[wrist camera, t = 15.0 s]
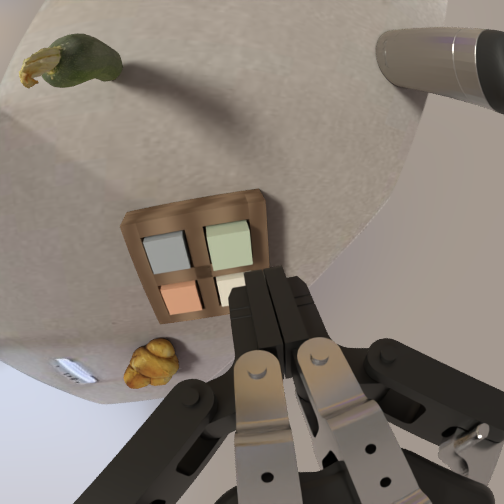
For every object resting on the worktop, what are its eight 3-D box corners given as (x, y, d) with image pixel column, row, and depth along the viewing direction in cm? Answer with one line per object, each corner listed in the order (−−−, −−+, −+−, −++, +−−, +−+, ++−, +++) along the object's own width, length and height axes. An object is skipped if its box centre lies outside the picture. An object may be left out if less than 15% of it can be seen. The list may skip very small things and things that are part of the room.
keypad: (258, 188, 36) (265, 200, 32) (265, 289, 46) (271, 306, 43) (126, 212, 34) (120, 226, 31) (161, 306, 44) (160, 324, 41)
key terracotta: (194, 271, 39) (195, 285, 37) (201, 296, 42) (202, 310, 40) (162, 277, 39) (160, 290, 36) (170, 301, 42) (170, 314, 39)
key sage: (245, 218, 34) (249, 230, 32) (248, 250, 37) (252, 264, 35) (205, 224, 34) (206, 237, 31) (212, 257, 37) (213, 271, 34)
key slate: (182, 223, 35) (181, 235, 32) (190, 255, 38) (190, 268, 35) (146, 230, 34) (143, 242, 32) (156, 260, 37) (154, 274, 35)
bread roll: (151, 326, 47) (148, 362, 40) (193, 346, 52) (195, 380, 45) (122, 355, 51) (119, 387, 44) (160, 371, 56) (160, 401, 49)
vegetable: (108, 48, 21) (9, 24, 5) (141, 52, 23) (66, 16, 7) (98, 82, 24) (-9, 96, 7) (130, 86, 25) (43, 95, 9)
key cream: (249, 262, 40) (252, 275, 38) (251, 287, 43) (255, 300, 41) (215, 268, 40) (216, 281, 37) (220, 293, 43) (222, 306, 40)
